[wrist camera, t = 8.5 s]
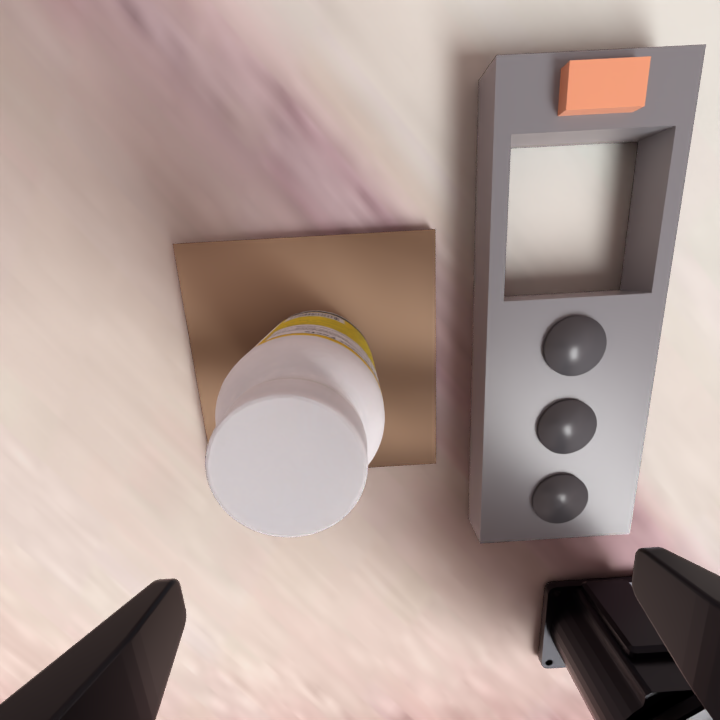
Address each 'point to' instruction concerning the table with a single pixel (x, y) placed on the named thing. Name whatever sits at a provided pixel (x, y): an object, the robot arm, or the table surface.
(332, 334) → the supplement bottle
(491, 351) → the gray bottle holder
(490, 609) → the table surface
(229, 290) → the walnut pad
